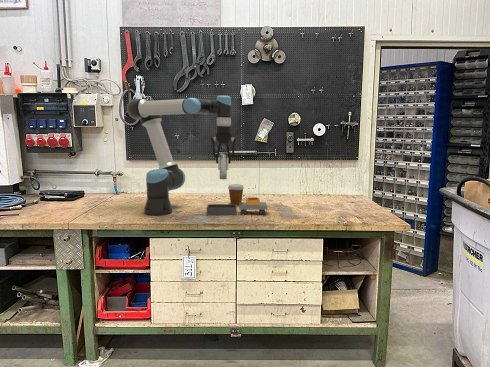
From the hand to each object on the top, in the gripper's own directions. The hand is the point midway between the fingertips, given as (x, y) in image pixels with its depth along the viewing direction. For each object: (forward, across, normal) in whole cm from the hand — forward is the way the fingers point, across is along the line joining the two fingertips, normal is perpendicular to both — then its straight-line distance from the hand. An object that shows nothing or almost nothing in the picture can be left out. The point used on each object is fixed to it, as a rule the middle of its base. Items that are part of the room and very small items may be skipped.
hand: (223, 169), depth 203 cm
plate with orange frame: (+24, +16, -1) cm, 29 cm away
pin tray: (+24, 0, 0) cm, 24 cm away
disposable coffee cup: (+24, +8, +20) cm, 32 cm away
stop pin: (+5, 0, 0) cm, 5 cm away
